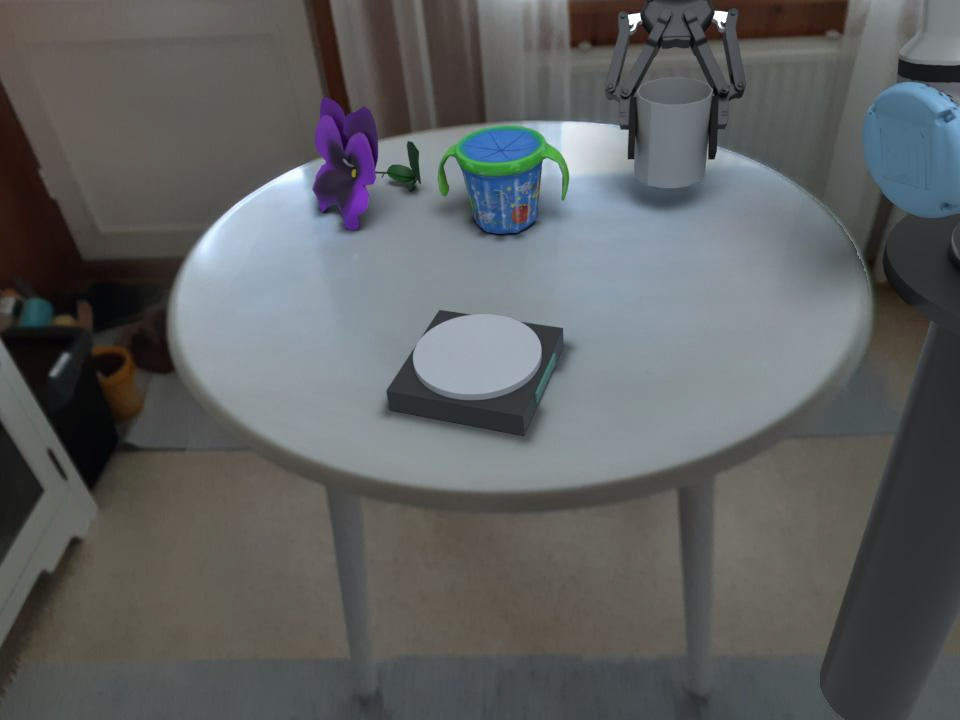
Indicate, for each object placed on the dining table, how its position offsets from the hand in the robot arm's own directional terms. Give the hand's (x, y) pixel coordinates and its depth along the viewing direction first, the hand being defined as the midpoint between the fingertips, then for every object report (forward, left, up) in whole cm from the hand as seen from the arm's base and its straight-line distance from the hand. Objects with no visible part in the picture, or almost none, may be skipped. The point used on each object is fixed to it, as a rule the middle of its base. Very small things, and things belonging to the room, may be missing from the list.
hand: (671, 155), depth 97 cm
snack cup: (+19, +6, -8) cm, 21 cm away
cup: (+1, -3, -4) cm, 5 cm away
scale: (+12, +35, -8) cm, 37 cm away
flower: (+37, +5, -8) cm, 38 cm away
